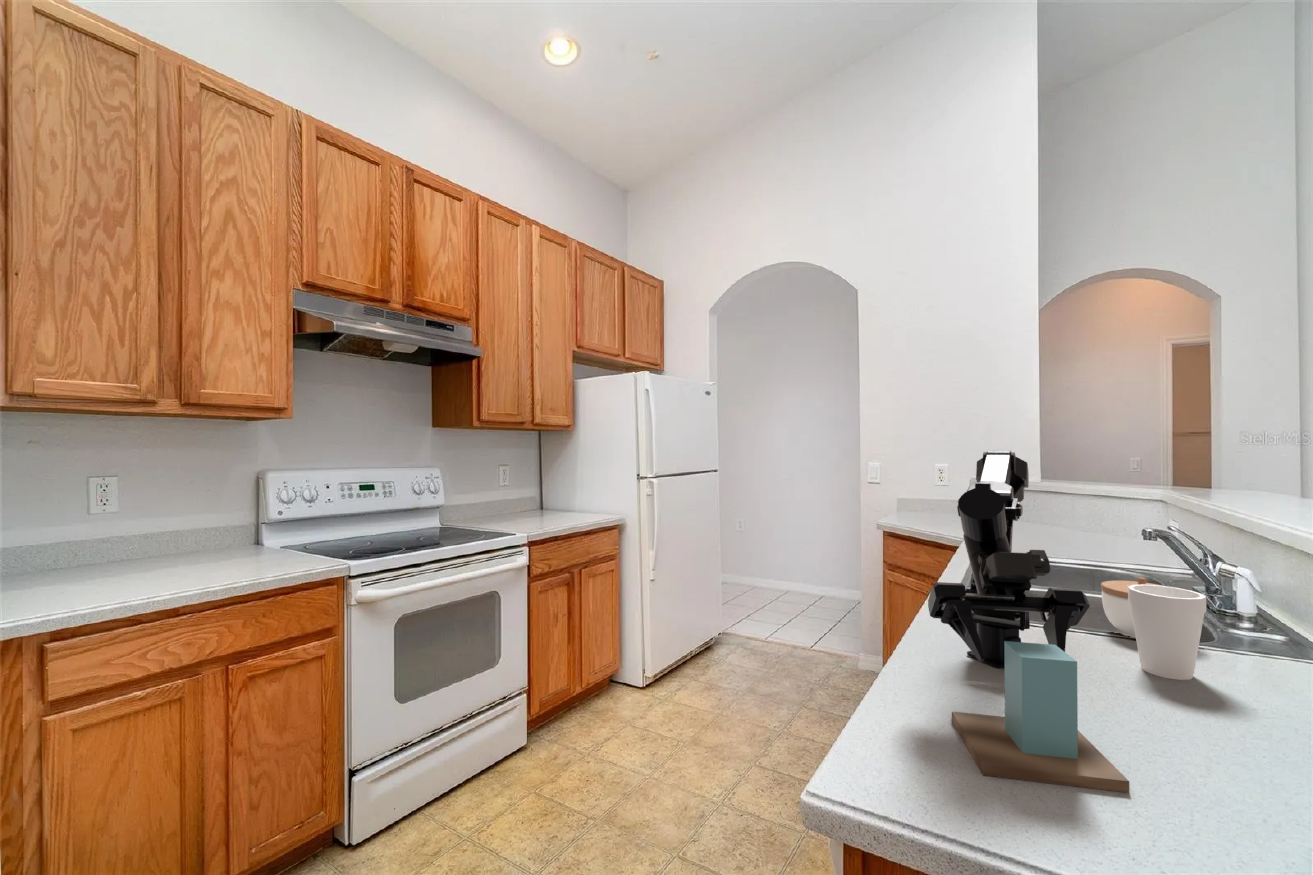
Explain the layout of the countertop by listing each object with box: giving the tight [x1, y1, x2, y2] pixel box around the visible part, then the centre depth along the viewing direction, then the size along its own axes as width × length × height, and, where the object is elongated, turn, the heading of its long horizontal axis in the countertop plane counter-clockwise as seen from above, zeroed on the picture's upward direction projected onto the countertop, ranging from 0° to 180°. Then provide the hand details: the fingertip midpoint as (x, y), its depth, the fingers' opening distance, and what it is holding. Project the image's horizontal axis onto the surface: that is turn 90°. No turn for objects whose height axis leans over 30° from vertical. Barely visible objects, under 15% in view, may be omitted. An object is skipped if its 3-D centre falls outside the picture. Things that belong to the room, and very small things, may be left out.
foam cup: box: [1128, 584, 1207, 681], centre depth 93 cm, size 10×9×13 cm
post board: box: [951, 711, 1130, 794], centre depth 69 cm, size 13×14×5 cm
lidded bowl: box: [1100, 577, 1164, 639], centre depth 111 cm, size 13×13×11 cm
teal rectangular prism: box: [1004, 641, 1079, 759], centre depth 69 cm, size 6×6×11 cm
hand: (1021, 663), depth 74 cm, fingers open, 9 cm apart
